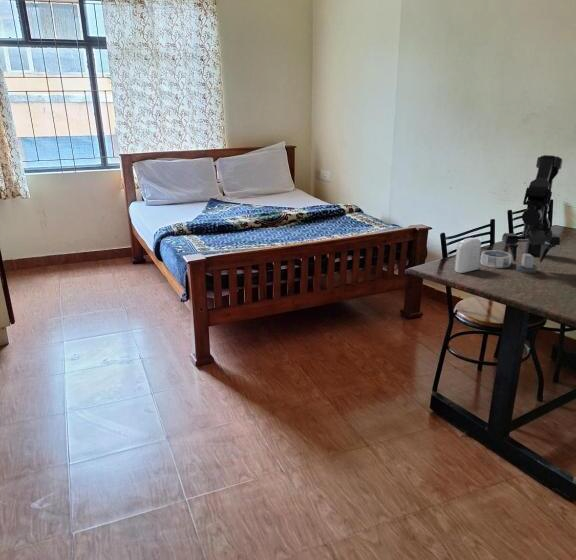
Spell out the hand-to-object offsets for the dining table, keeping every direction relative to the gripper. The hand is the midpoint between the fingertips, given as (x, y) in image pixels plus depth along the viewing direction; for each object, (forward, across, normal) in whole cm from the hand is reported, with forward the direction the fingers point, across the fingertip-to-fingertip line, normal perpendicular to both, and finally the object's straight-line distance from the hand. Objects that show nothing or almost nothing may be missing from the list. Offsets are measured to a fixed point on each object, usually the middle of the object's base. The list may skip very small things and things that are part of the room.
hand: (527, 261), depth 186 cm
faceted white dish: (+4, -9, +8) cm, 13 cm away
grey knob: (+4, 0, 0) cm, 4 cm away
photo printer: (+4, -22, -2) cm, 22 cm away
